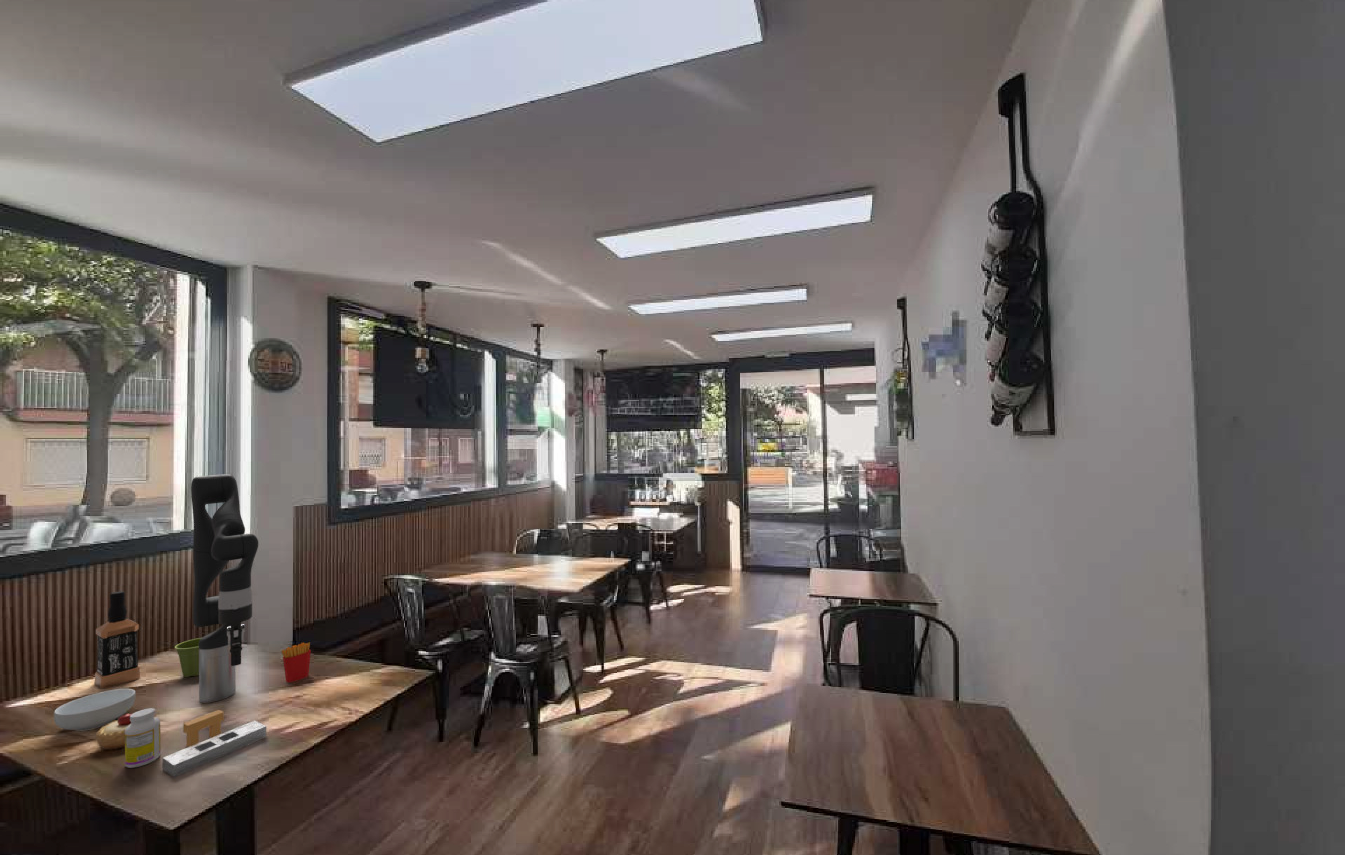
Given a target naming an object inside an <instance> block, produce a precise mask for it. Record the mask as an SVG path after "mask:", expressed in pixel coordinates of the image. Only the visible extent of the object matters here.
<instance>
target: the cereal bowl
mask: <svg viewBox="0 0 1345 855" xmlns="http://www.w3.org/2000/svg"><path fill="white" fill-rule="evenodd" d="M135 700H136V690H135V689H133V688H116V689H110V690H106V691H101V692H97V693H92V694H89V695H86V696H83V697H79V698H77V699H74V700H71V701H69V702H66V703H64V704H62V705H60V706H58V707H57V708H56V709H55V710H54V713H53V720H54V723H55V724H56V726H58V728H60V729H63V730H72V731H73V730H74V731H79V732H85V731H90V730H94V729H95V730H96V729H98V728H102V727H103V726H105V725H106V724H108V723H109V724H110V723H112V722H113V721H115V720H116V719H118V718H119V717H120V716H122V715H125V714H127V713H128V712H127V711H126V709H127V710H128V711H129V710H130V709H131V708H132V706H133V705H134V704H135ZM125 708H126V709H125Z"/></svg>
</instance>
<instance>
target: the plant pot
mask: <svg viewBox="0 0 1345 855" xmlns="http://www.w3.org/2000/svg"><path fill="white" fill-rule="evenodd" d="M201 638H202V637H199V638H194V639H193V638H192V639H189V640H185V641H183V642H180V643H178V644H176V645H175V646H174V649H175V650H176V652H177V655H178V658H179V663H180V664H179V665H180V666H181V667H180V669H181V673H182V677H184V678H189V677H192V676H193V677H197V676H199V640H200V639H201Z"/></svg>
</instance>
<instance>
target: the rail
mask: <svg viewBox="0 0 1345 855" xmlns="http://www.w3.org/2000/svg"><path fill="white" fill-rule="evenodd" d="M263 737H265V738H266V737H267V725H264V724H263V723H261V722H259V721H257V720H253V721H250V722H248V723H244V724H243V725H240V726H237V727H235V728H233V729H230V730H227V731H225V732H223V733H222V732H221V734H220V735H218V736H215V737H213V738H211V737H210V738H209V739H205V740H204V741H201V742H199V743H198V744H195V745H193V746H191V747H188V746H187V748H186V747H185V748H183V749H181V750H179V751H176V752H174V753H171V754H169V755H166V756H164V757H162V770H163V771H164V772H165V773H167V774H169V775H170V776H172V777H173V778H176V777H178V776H180V775H183V774H184V773H187V772H189V771H192V770H194V769H196V768H198V767H201V766H203V765H205V764H208V763H210V762H212V761H214V760H217V759H218V758H222V757H223V756H226V755H229V754H231V753H233V752H235V751H238V750H240V749H242V748H245V747H246V746H249V745H251V744H253V743H256V742H258V741H260V740H262V738H263ZM263 739H264V738H263ZM248 744H249V745H248Z"/></svg>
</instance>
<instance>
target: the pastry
mask: <svg viewBox="0 0 1345 855" xmlns="http://www.w3.org/2000/svg"><path fill="white" fill-rule="evenodd" d="M125 709H126V708H125ZM126 711H127V712H126V713H125V714H123V715H121V716H120V717H118V718H117V720H116V719H114V720H113V721H112V722H110V723H108V724H106V725H104V726H101V727H100V729H99V730H98V731H97V732H96V734H95V738H96V742H97V745H98V746H99V747H101V748H102V749H104V750H118V749H123V748H125V729H126V728H127V727H128V726H129V725H130V724H131V721H130V716H131V715H132V714H133V713H134V712H131V713H130V712H129V710H127V709H126ZM154 717H157V716H156V714H155V715H154Z"/></svg>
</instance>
